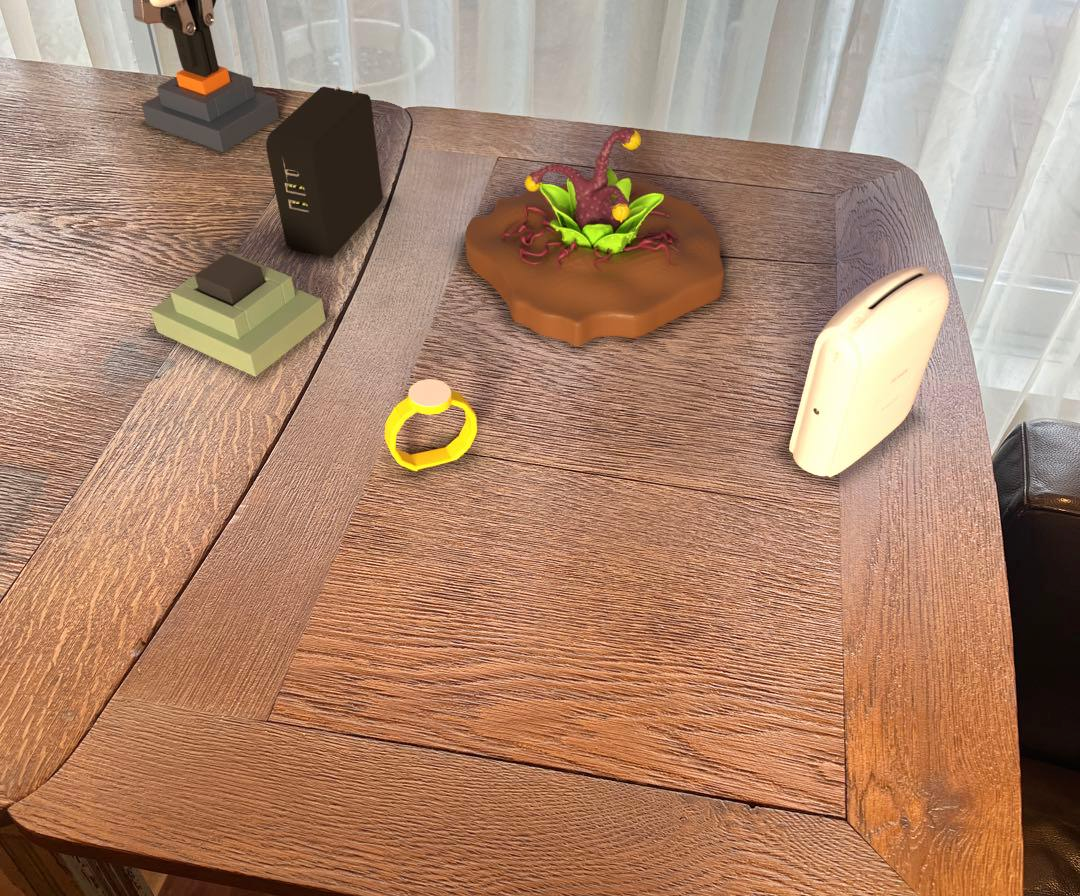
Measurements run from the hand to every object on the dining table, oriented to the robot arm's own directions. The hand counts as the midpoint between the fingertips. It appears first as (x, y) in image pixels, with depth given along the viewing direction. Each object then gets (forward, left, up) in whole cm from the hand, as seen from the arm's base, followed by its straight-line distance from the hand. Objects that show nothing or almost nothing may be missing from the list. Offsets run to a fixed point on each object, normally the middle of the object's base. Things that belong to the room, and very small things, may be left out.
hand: (200, 70), depth 97 cm
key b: (0, 0, -2) cm, 2 cm away
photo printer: (+69, -10, -5) cm, 70 cm away
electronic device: (+22, -8, -5) cm, 24 cm away
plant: (+44, -1, -5) cm, 44 cm away
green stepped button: (+25, -23, -5) cm, 34 cm away
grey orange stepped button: (0, 0, -5) cm, 5 cm away
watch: (+46, -27, -5) cm, 54 cm away
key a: (+25, -23, -2) cm, 34 cm away
